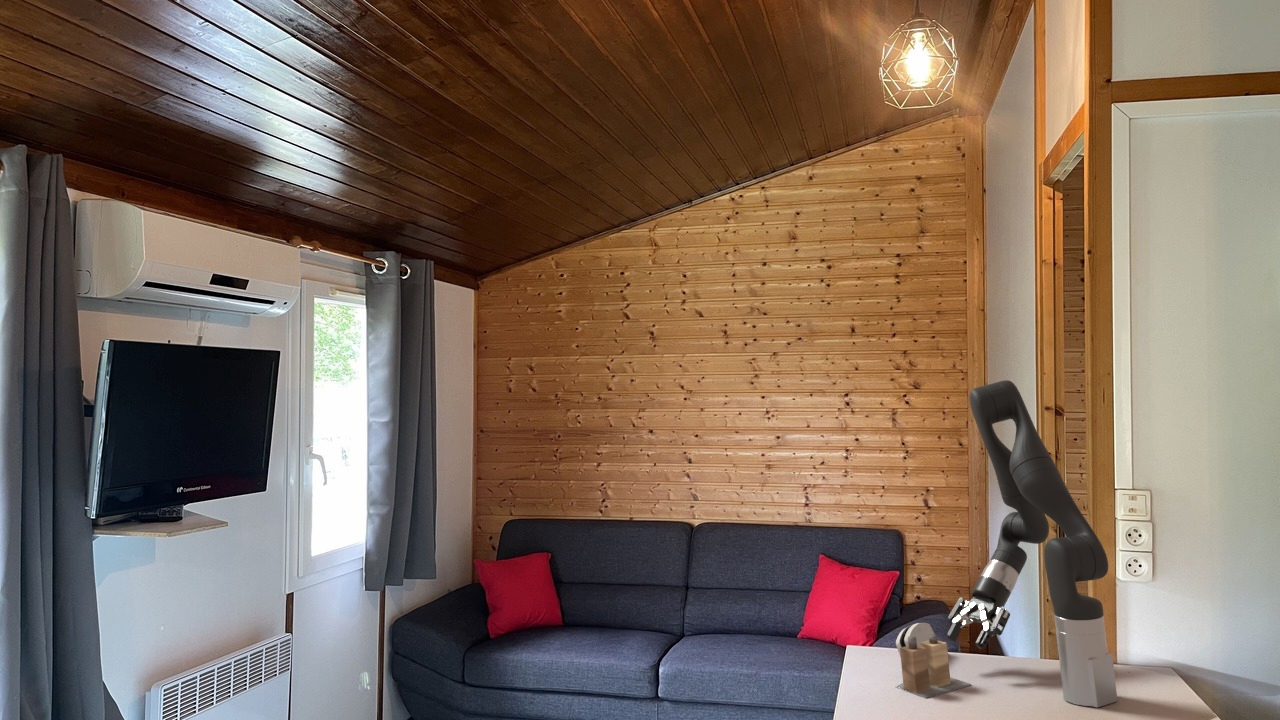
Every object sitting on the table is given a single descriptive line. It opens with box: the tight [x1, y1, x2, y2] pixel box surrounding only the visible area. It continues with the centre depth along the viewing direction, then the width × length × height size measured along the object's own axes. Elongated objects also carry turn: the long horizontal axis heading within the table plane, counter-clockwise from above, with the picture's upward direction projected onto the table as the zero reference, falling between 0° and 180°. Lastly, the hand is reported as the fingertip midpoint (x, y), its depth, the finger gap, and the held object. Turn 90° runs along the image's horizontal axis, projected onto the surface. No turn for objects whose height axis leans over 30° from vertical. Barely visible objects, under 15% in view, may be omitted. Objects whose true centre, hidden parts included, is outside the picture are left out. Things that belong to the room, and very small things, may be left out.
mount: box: [896, 636, 972, 699], centre depth 203 cm, size 10×13×12 cm
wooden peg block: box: [920, 633, 951, 687], centre depth 203 cm, size 4×4×11 cm
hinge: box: [895, 622, 936, 658], centre depth 220 cm, size 17×5×10 cm, turn 144°
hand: (964, 643), depth 207 cm, fingers open, 8 cm apart
